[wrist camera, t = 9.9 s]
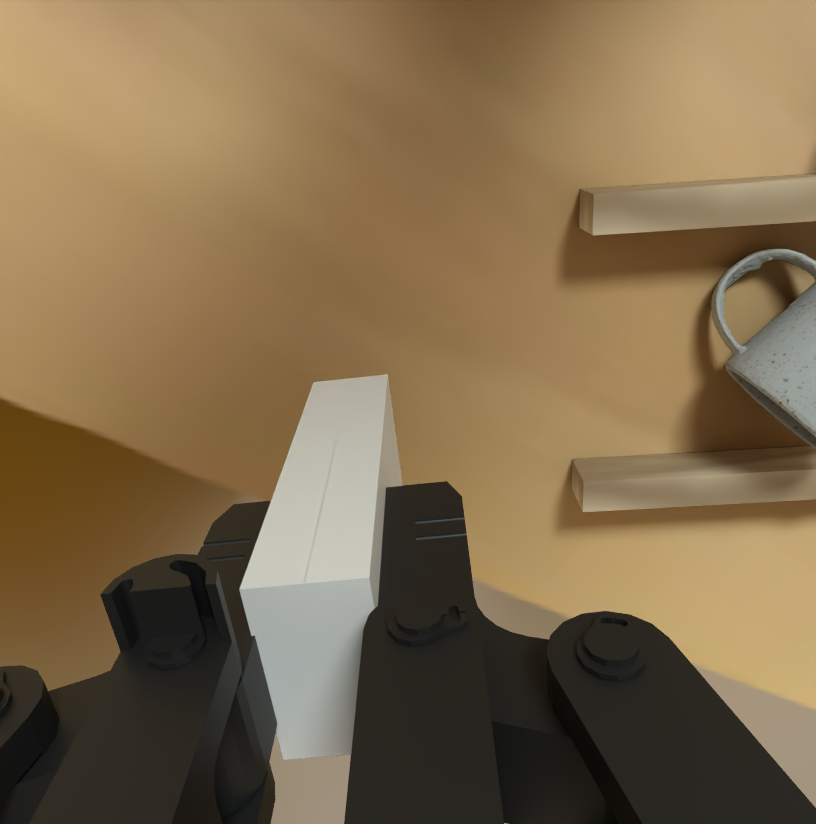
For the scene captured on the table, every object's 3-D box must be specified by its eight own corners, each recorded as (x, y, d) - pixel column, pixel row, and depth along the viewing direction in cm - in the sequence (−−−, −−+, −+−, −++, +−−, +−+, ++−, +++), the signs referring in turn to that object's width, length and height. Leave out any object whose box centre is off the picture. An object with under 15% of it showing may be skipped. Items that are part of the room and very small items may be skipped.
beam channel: (582, 107, 36) (609, 104, 31) (1041, 76, 35) (1141, 67, 30) (571, 488, 44) (591, 532, 39) (942, 467, 43) (1009, 510, 39)
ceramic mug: (899, 327, 40) (1003, 368, 33) (787, 429, 43) (861, 488, 35) (777, 207, 38) (861, 222, 31) (665, 321, 40) (719, 361, 33)
